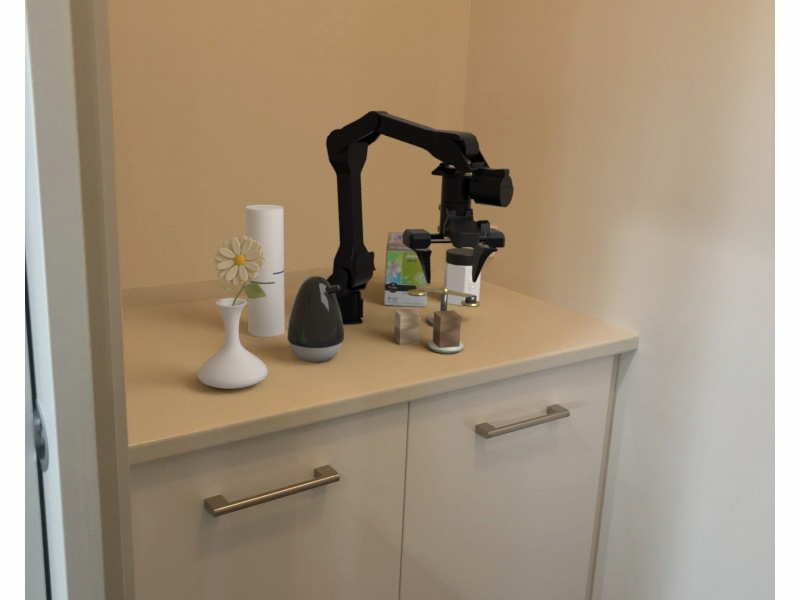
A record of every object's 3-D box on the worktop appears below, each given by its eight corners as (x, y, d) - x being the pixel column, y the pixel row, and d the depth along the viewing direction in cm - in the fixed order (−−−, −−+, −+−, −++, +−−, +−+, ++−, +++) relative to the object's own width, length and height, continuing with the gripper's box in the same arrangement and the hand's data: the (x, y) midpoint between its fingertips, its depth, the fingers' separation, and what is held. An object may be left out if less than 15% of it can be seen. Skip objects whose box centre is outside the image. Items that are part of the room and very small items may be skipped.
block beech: (399, 345, 150) (400, 315, 148) (394, 338, 153) (395, 309, 152) (419, 343, 151) (420, 314, 149) (413, 337, 154) (414, 308, 153)
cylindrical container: (291, 332, 155) (291, 207, 149) (263, 339, 150) (261, 211, 144) (269, 324, 160) (268, 203, 153) (241, 331, 155) (238, 206, 148)
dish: (434, 355, 144) (435, 350, 144) (424, 344, 150) (424, 339, 150) (468, 353, 146) (468, 348, 146) (456, 342, 152) (456, 337, 152)
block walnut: (439, 347, 145) (440, 317, 144) (432, 341, 149) (434, 311, 147) (459, 346, 146) (461, 316, 145) (452, 340, 150) (453, 310, 149)
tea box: (427, 307, 176) (430, 243, 172) (383, 306, 176) (385, 242, 172) (426, 291, 190) (428, 231, 186) (385, 289, 190) (387, 230, 186)
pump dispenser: (321, 371, 134) (322, 286, 130) (275, 359, 140) (274, 277, 136) (355, 355, 143) (357, 275, 139) (311, 344, 148) (311, 267, 144)
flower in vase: (182, 384, 126) (175, 233, 120) (231, 365, 136) (227, 224, 129) (242, 403, 120) (238, 244, 113) (289, 381, 129) (288, 233, 123)
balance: (409, 328, 160) (411, 287, 158) (404, 322, 164) (405, 282, 162) (481, 324, 165) (484, 284, 162) (474, 318, 168) (477, 280, 166)
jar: (456, 308, 176) (459, 256, 173) (435, 299, 183) (437, 249, 179) (486, 303, 181) (490, 252, 178) (465, 295, 187) (468, 246, 184)
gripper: (419, 208, 134) (415, 295, 138) (519, 208, 139) (513, 292, 143) (403, 199, 145) (400, 280, 149) (496, 199, 149) (491, 277, 153)
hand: (451, 282), depth 148 cm, fingers open, 9 cm apart
